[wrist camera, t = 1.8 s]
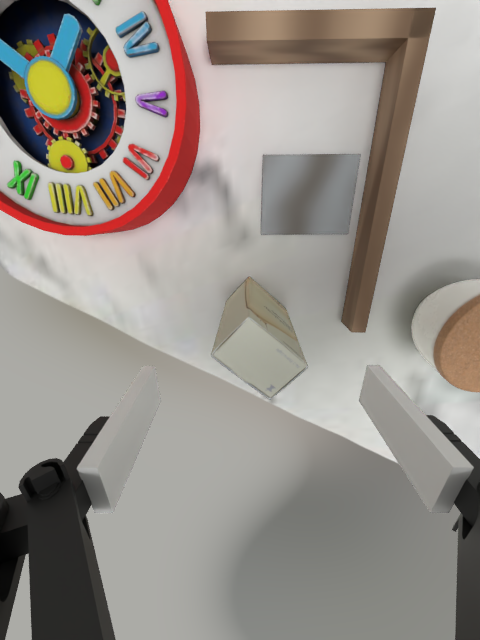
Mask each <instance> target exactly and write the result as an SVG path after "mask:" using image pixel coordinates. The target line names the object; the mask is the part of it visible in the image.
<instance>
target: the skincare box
mask: <svg viewBox="0 0 480 640" xmlns="http://www.w3.org/2000/svg"><path fill="white" fill-rule="evenodd" d="M211 356H212V358H214V359H215V360H216V361H218V362H219V363H220V364H221V365H223V366H224V367H226V368H227V369H228V370H229V371H231V372H232V373H233V374H235V375H236V376H237V377H238V378H240V379H241V380H243V381H244V382H245V383H247V384H248V385H250V386H251V387H252V388H254V389H255V390H257V391H258V392H259V393H261V394H262V395H264V396H265V397H266V398H268V399H269V400H271V399H272V398H273V397H274V396H275V395H277V394H278V393H279V392H280V391H281V390H283V389H284V388H285V387H286V386H287V385H289V384H290V383H291V382H292V381H293V380H295V379H296V378H297V377H298V376H299V375H300V374H301V373H303V372H304V371H305V370H306V369H307V368H308V365H307V363H306V360H305V358H304V355H303V353H302V350H301V347H300V345H299V342H298V340H297V337H296V334H295V332H294V329H293V326H292V324H291V321H290V318H289V316H288V313H287V310H286V309H285V308H284V307H283V306H282V305H281V304H280V303H279V302H278V301H276V300H275V299H274V298H273V297H272V296H271V295H270V294H269V293H268V292H267V291H265V290H264V289H263V288H262V287H261V286H260V285H259V284H257V283H256V282H255V281H254V280H253V279H252V278H251V277H248V278H247V279H246V280H245V281H244V282H243V283H242V284H241V285H240V287H239V288H238V289H237V290H236V291H235V292H234V293H233V294H232V295H231V296H230V298H229V299H228V300H227V301H226V304H225V307H224V311H223V314H222V318H221V322H220V325H219V329H218V332H217V336H216V339H215V343H214V346H213V350H212V353H211Z"/></svg>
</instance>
